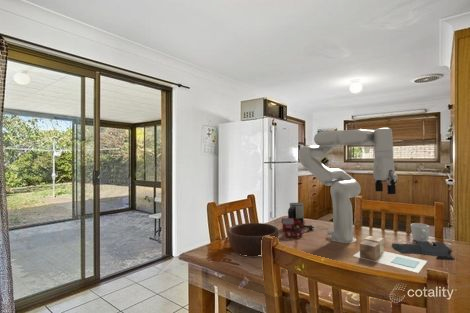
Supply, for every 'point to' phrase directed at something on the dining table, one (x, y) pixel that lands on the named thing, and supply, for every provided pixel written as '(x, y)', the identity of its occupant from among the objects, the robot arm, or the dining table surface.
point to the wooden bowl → (249, 237)
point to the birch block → (376, 239)
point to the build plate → (399, 261)
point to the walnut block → (370, 250)
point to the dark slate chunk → (425, 249)
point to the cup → (420, 232)
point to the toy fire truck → (292, 227)
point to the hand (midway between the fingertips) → (385, 192)
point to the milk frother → (297, 213)
